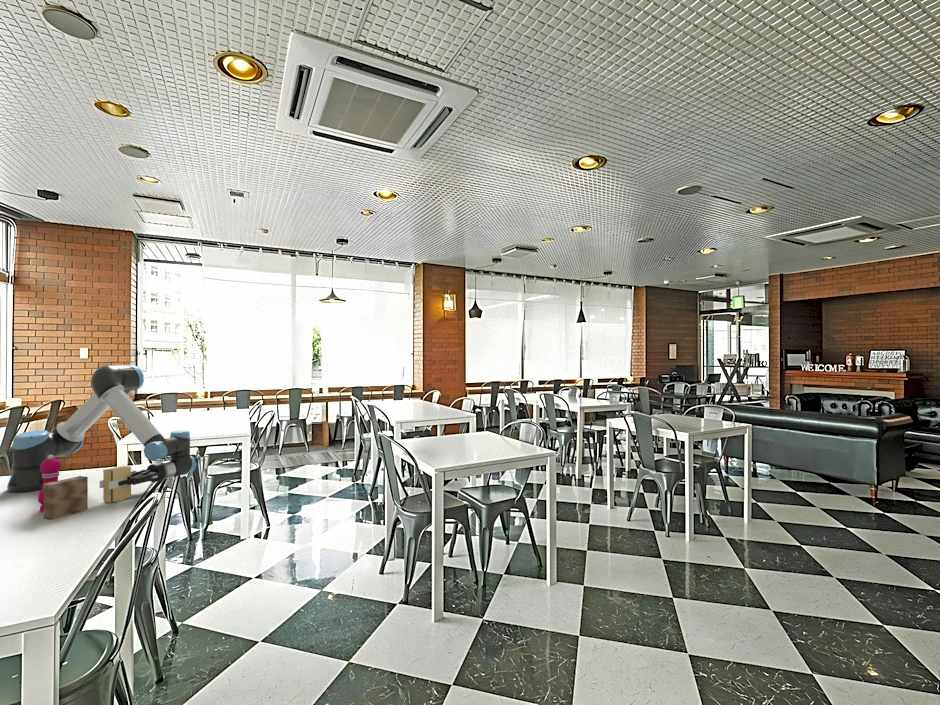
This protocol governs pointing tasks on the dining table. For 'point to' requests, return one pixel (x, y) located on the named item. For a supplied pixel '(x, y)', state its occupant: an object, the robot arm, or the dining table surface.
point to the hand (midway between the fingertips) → (104, 485)
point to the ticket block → (65, 497)
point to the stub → (118, 492)
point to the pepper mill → (48, 475)
